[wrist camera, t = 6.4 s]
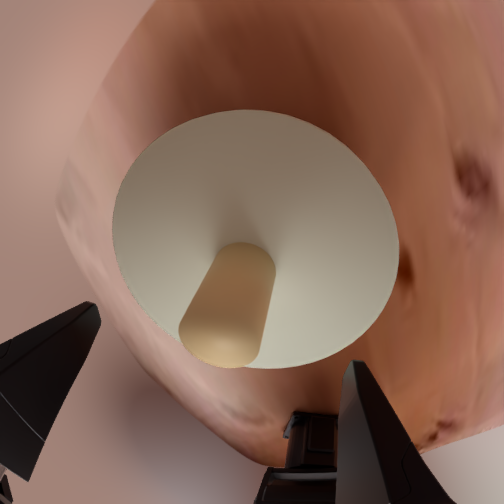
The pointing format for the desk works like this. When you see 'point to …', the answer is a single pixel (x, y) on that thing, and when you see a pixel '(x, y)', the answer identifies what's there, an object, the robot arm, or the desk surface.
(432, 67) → the desk surface
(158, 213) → the lid
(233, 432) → the desk surface
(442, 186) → the desk surface
